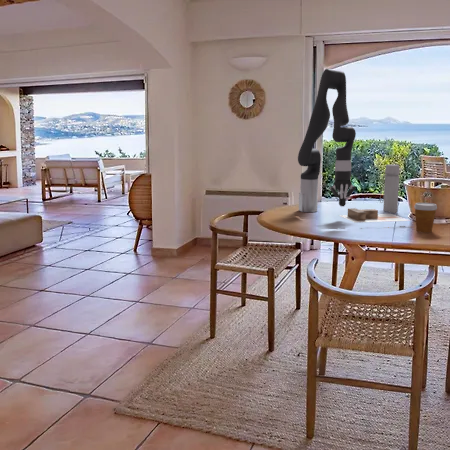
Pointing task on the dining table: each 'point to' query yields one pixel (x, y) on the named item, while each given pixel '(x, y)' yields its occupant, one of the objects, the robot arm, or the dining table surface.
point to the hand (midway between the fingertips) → (342, 206)
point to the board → (379, 218)
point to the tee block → (362, 214)
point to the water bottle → (391, 188)
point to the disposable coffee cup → (425, 216)
